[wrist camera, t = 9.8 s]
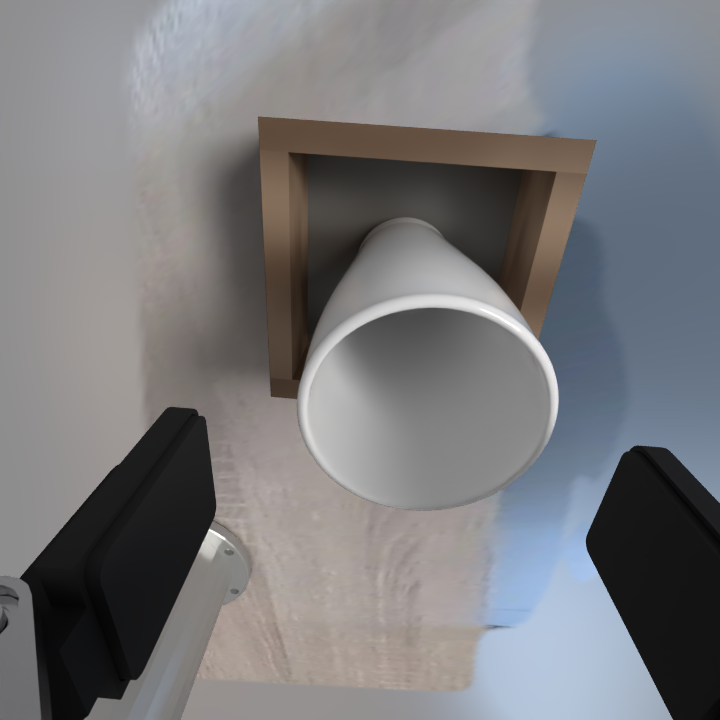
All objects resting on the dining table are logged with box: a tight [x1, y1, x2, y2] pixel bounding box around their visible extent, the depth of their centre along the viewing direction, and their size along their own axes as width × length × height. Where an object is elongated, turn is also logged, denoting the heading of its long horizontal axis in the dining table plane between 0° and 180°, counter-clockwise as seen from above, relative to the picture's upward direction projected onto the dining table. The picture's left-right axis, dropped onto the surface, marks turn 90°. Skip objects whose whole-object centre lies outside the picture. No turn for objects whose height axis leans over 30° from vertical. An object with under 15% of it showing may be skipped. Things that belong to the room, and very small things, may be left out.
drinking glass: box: [297, 217, 559, 511], centre depth 17 cm, size 7×7×15 cm
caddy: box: [258, 117, 596, 399], centre depth 22 cm, size 13×13×6 cm
